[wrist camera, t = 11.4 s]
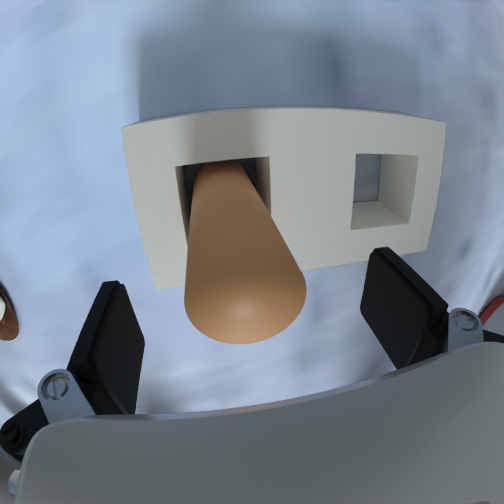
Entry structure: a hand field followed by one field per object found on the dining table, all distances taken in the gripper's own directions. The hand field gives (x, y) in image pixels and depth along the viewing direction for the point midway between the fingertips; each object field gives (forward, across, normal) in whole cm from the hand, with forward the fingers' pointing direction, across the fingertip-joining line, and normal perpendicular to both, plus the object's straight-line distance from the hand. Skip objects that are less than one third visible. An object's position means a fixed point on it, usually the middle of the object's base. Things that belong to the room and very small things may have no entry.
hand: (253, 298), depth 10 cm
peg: (+13, 0, -1) cm, 13 cm away
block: (+13, -5, -1) cm, 14 cm away
